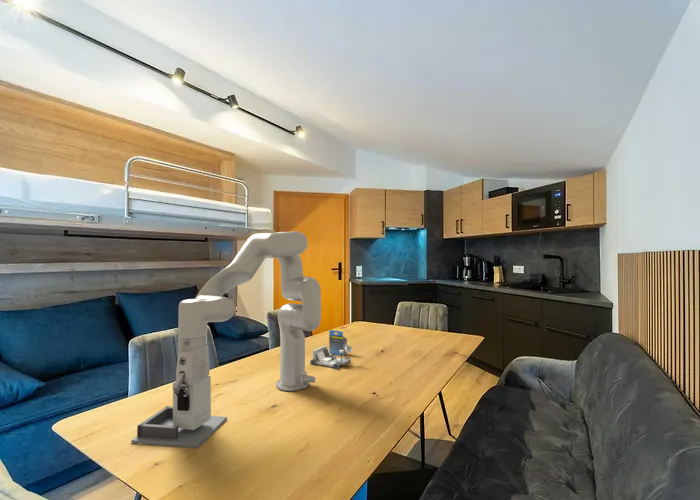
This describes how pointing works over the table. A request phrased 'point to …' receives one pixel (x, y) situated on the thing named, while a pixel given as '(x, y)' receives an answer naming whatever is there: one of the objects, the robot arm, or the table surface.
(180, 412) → the supplement box
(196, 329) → the robot arm
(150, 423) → the box holder
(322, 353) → the toy car
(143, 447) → the table surface
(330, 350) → the label tape cartridge
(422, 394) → the table surface
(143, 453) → the table surface
